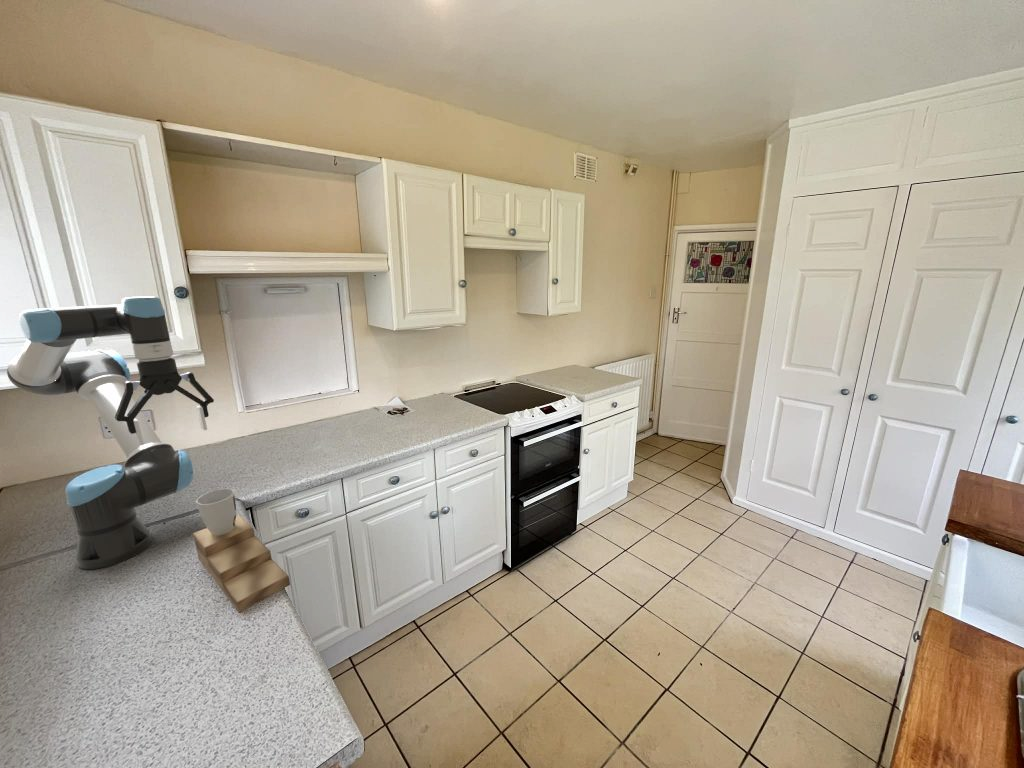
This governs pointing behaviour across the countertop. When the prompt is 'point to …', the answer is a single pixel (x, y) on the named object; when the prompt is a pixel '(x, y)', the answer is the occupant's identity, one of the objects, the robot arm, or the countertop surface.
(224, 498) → the cup
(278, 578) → the riser
